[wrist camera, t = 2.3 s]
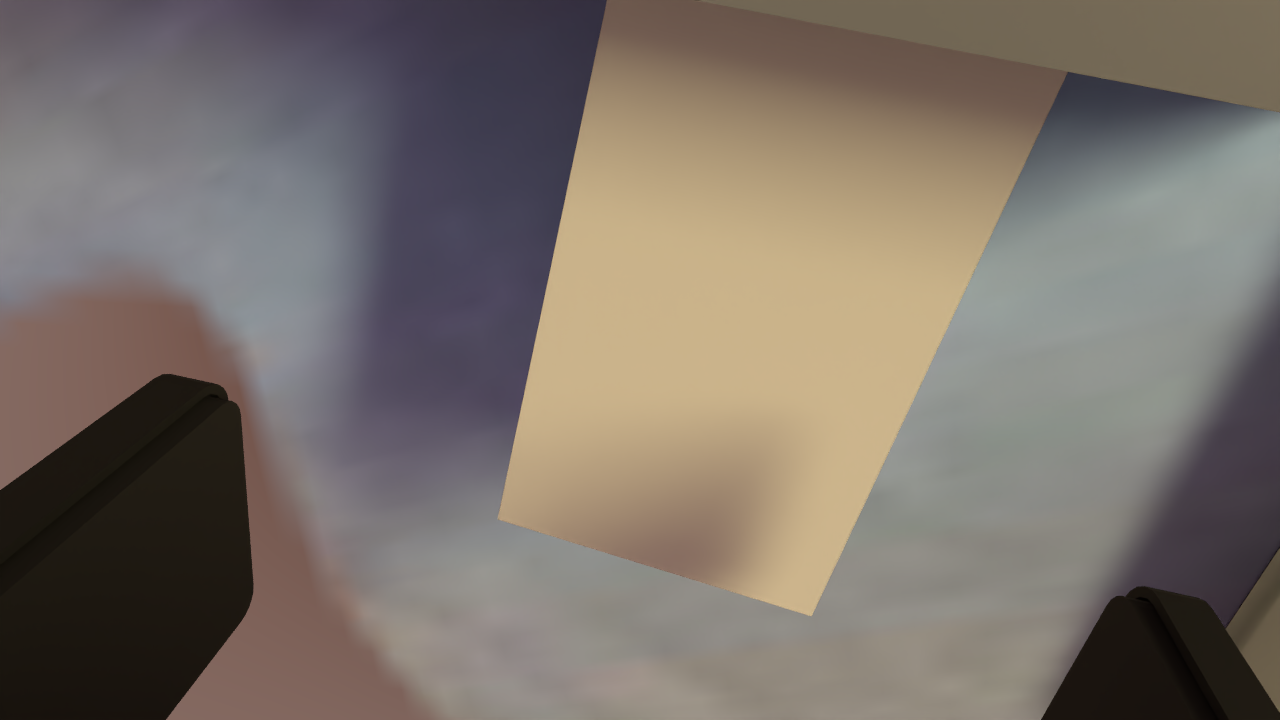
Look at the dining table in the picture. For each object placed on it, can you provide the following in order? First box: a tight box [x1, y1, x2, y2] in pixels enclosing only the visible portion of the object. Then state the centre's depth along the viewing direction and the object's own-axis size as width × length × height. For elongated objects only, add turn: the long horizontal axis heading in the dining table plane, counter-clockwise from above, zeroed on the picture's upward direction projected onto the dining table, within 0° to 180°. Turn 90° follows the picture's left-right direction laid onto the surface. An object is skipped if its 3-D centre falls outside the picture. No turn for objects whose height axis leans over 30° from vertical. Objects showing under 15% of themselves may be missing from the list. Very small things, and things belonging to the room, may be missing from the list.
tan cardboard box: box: [498, 0, 1068, 616], centre depth 14 cm, size 15×6×7 cm, turn 166°
